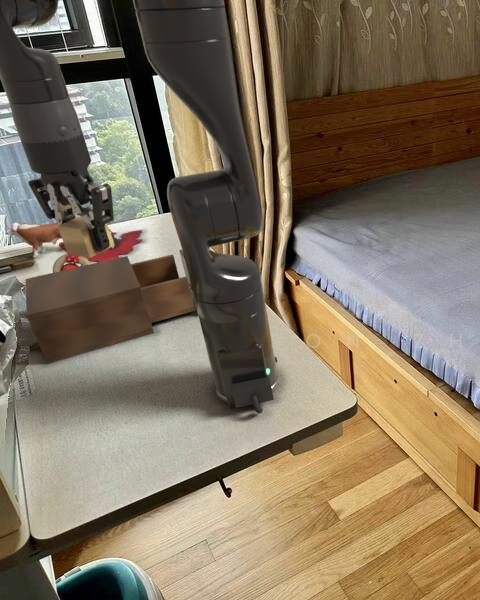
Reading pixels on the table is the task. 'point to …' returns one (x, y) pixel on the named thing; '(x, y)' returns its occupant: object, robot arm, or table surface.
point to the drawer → (164, 287)
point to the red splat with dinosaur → (118, 246)
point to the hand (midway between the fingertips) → (89, 246)
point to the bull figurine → (36, 235)
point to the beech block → (79, 238)
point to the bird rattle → (69, 261)
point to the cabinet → (86, 308)
